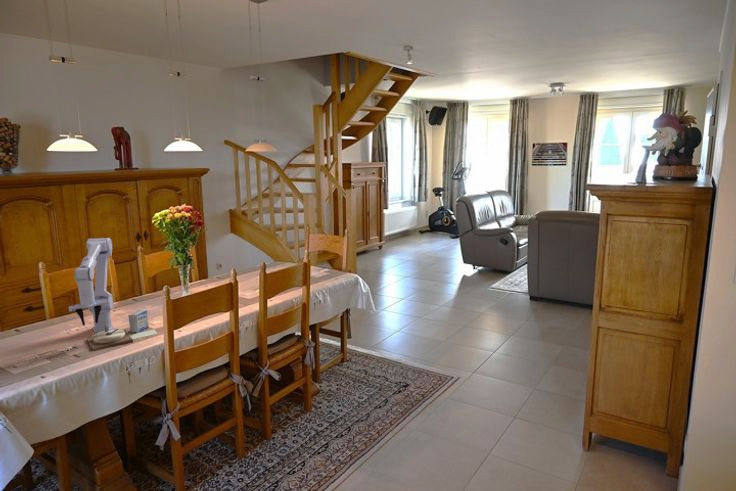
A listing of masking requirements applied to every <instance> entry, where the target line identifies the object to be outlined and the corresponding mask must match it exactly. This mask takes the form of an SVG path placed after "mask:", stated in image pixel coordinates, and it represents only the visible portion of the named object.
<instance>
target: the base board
mask: <svg viewBox="0 0 736 491" xmlns="http://www.w3.org/2000/svg"><path fill="white" fill-rule="evenodd" d="M123 330H124V331H125V337H124V338H122V339H120V340H118V341H115V342H110V343H95V342H93V335H92V336H87V337H86V341H87V343H88V344H89V347H90V349H91V350H92V351H93V352H95V351H97V350H103V349H107V348H112V347H116V346H121V345H125V344H130V343H134V339H132V338H131V337H130V335H131V334H129V332H127V330H126V329H123Z"/></svg>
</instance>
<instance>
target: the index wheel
mask: <svg viewBox="0 0 736 491" xmlns="http://www.w3.org/2000/svg"><path fill="white" fill-rule="evenodd" d="M104 328H105V331H102V332H99V333H95V334H94V335H92V336H93V342H95V343H110V342H115V341H118V340H120V339H122V338H124V337H125V331H124V330H125V329H119V328H114V329H112V330H109V328H108V324H106V325H104Z"/></svg>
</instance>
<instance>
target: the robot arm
mask: <svg viewBox="0 0 736 491" xmlns="http://www.w3.org/2000/svg"><path fill="white" fill-rule="evenodd" d="M85 246H86V249H87V254H86V256H84V257H83V258H82V261H81V263H80V264H79V267H77V268H76V269H74V274H73V276H74V280H75V283H76V285H77V288H78V295H79V297H78V298H79V303H78V304H77V303H76V304H74V305H71V306H68V312H73V311H75V312H76V314H77V316H78V317H79V319H80V320H81V324H82V326H86V323H85V322H86V321H85V318H84V309H85V310H86V309H88V311H89V312H91V313H90V314H92V316H93V325H94V326H92V327H91V328H92V329H93V332H94V333H95V334H96V333H99V332H102V331H105V328H104V325H106V324H108V328H109V330H112V329H115V328H114V326H113V325H112V316H111V311H112V309H113V308H114V300H113V299H114V298H113V297H114V296H113V295H112V294H111V293H110V292H109V291H108V290H107V286H108V284H107V283H108V265H109V264H108V261H109V258H110V257H111V256H112V253H113V242H112V239H111V238H110V237H107V238H106V237H102V238H87V240H86V245H85ZM94 279H95V285H94V281H93V280H94Z"/></svg>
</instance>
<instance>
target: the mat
mask: <svg viewBox="0 0 736 491" xmlns="http://www.w3.org/2000/svg"><path fill="white" fill-rule="evenodd" d="M129 335H130V337H131V338H132V339H133V340H136V339H140V338H145V337H146V338H147V337H150V336H154V335H158V332H157V331H156V329H151V330H146V331H145V330H144V331H141V332H139V333H135V332H134V333H132V334H129Z"/></svg>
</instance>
